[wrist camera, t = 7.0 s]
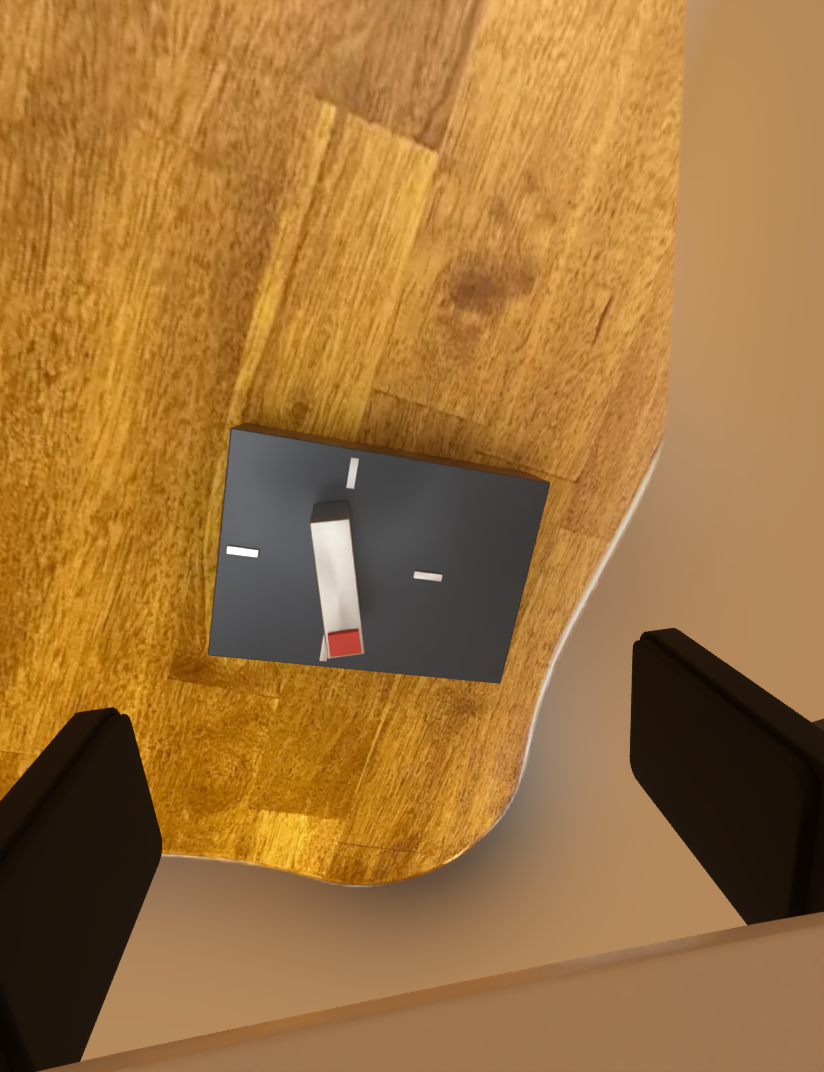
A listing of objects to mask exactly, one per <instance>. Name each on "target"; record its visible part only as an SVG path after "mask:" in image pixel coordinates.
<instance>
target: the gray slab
mask: <svg viewBox="0 0 824 1072" xmlns="http://www.w3.org/2000/svg"><path fill="white" fill-rule="evenodd" d="M310 531H311V539H312V546H313V553H314V561H315V568H316V576H317V583H318V591H319V598H320V606H321V613H322V621H323V628H324V636H325V643H326V651H327V658H328V659H330V658H337V657H345V656H352V655H360V654H365V648H364V639H363V629H362V620H361V611H360V602H359V593H358V584H357V575H356V566H355V557H354V548H353V539H352V530H351V521H350V512H349V503H348V501H342V502H332V503H322V504H314V505H313V510H312V515H311V519H310Z"/></svg>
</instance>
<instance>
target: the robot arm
mask: <svg viewBox="0 0 824 1072" xmlns="http://www.w3.org/2000/svg"><path fill="white" fill-rule="evenodd" d="M630 732H631V733H630V764H631V768H632V772H633V774H634V776H635V778H636V780H637V781H638V782H639V784H640V785H641V786H642V788H643V789H644V790H645V792H646V793H647V794H648V796H649V797H650V798H651V800H652V801H653V802H654V803H655V805H656V806H657V807H658V808H659V810H660V811H661V812H662V814H663V815H664V817H666V819H667V820H668V822H669V823H670V824H671V826H672V827H673V828H674V830H675V831H676V832H677V833H678V835H679V836H680V837H681V839H682V840H683V841H684V842H685V844H686V845H687V847H688V848H689V849H690V850H691V852H692V853H693V854H694V856H695V857H696V858H697V860H698V861H699V862H700V864H701V865H702V866H703V868H704V869H705V870H706V872H707V873H708V874H709V875H710V877H711V878H712V879H713V881H714V882H715V883H716V884H717V886H718V887H719V889H720V890H721V891H722V892H723V894H724V895H725V896H726V898H727V899H728V900H729V902H730V903H731V904H732V905H733V907H734V908H735V909H736V911H737V912H738V913H739V915H740V916H741V917H742V918H743V920H744V921H745V923H746V924H747V926H742V927H737V928H732V929H727V930H722V931H716V932H711V933H706V934H701V935H696V936H692V937H686V938H681V939H676V940H671V941H665V942H660V943H655V944H650V945H645V946H640V947H635V948H630V949H624V950H619V951H614V952H609V953H604V954H599V955H594V956H589V957H584V958H579V959H574V960H569V961H563V962H559V963H554V964H549V965H544V966H539V967H534V968H529V969H524V970H519V971H514V972H509V973H504V974H499V975H494V976H489V977H484V978H479V979H474V980H469V981H464V982H459V983H455V984H450V985H445V986H440V987H435V988H431V989H425V990H420V991H415V992H410V993H405V994H401V995H396V996H391V997H386V998H381V999H376V1000H371V1001H366V1002H361V1003H357V1004H351V1005H347V1006H342V1007H337V1008H332V1009H327V1010H322V1011H317V1012H313V1013H308V1014H303V1015H298V1016H294V1017H289V1018H284V1019H280V1020H275V1021H270V1022H265V1023H260V1024H255V1025H251V1026H246V1027H242V1028H236V1029H232V1030H227V1031H222V1032H217V1033H212V1034H208V1035H203V1036H198V1037H193V1038H189V1039H184V1040H179V1041H174V1042H170V1043H165V1044H161V1045H156V1046H150V1047H146V1048H141V1049H136V1050H132V1051H127V1052H122V1053H117V1054H113V1055H108V1056H104V1057H99V1058H95V1059H91V1060H86V1061H82V1062H80V1061H81V1058H82V1056H83V1053H84V1050H85V1048H86V1045H87V1043H88V1040H89V1038H90V1035H91V1033H92V1030H93V1028H94V1025H95V1023H96V1020H97V1018H98V1015H99V1013H100V1010H101V1008H102V1005H103V1003H104V1000H105V998H106V995H107V993H108V990H109V988H110V985H111V982H112V980H113V978H114V975H115V972H116V970H117V967H118V965H119V962H120V960H121V957H122V955H123V952H124V950H125V947H126V945H127V942H128V940H129V937H130V935H131V932H132V930H133V927H134V925H135V922H136V920H137V917H138V915H139V912H140V909H141V907H142V905H143V902H144V900H145V897H146V894H147V892H148V889H149V887H150V885H151V882H152V879H153V877H154V874H155V872H156V869H157V867H158V864H159V861H160V858H161V853H162V837H161V833H160V829H159V825H158V822H157V818H156V814H155V810H154V806H153V803H152V799H151V795H150V791H149V787H148V784H147V780H146V776H145V772H144V769H143V765H142V761H141V757H140V753H139V750H138V746H137V742H136V738H135V734H134V731H133V727H132V723H131V720H130V718H129V716H128V715H126V714H122V715H120V713H119V712H118V710H117V709H115V708H113V707H112V708H105V709H98V710H91V711H83V712H78V713H76V714H75V715H74V716H73V717H72V718H71V719H70V720H69V721H68V722H67V724H66V725H65V726H64V727H63V728H62V729H61V731H60V732H59V733H58V734H57V735H56V737H55V738H54V739H53V740H52V741H51V742H50V744H49V745H48V746H47V747H46V748H45V749H44V751H43V752H42V753H41V754H40V755H39V757H38V758H37V759H36V760H35V761H34V762H33V764H32V765H31V766H30V767H29V768H28V769H27V771H26V772H25V773H24V774H23V775H22V776H21V778H20V779H19V780H18V781H17V782H16V784H15V785H14V786H13V787H12V788H11V789H10V791H9V792H8V793H7V794H6V795H5V796H4V798H3V799H2V800H1V801H0V1072H824V731H823V730H822V729H820V728H819V727H817V726H816V725H814V724H813V723H812V722H810V721H808V720H807V719H806V718H804V717H803V716H801V715H800V714H799V713H797V712H795V711H794V710H793V709H791V708H790V707H788V706H787V705H786V704H784V703H783V702H781V701H780V700H778V699H777V698H776V697H774V696H773V695H771V694H770V693H768V692H767V691H765V690H764V689H763V688H761V687H760V686H758V685H757V684H755V683H754V682H753V681H751V680H750V679H748V678H747V677H745V676H744V675H743V674H741V673H740V672H738V671H737V670H735V669H734V668H732V667H731V666H730V665H728V664H727V663H725V662H724V661H722V660H721V659H720V658H718V657H717V656H715V655H714V654H712V653H711V652H710V651H708V650H706V649H705V648H704V647H702V646H701V645H699V644H698V643H696V642H695V641H694V640H692V639H691V638H689V637H688V636H686V635H685V634H684V633H682V632H681V631H679V630H678V629H675V628H669V629H662V630H655V631H648V632H644V633H643V634H642V635H641V637H640V640H638V641H636V642H635V643H634V645H633V657H632V693H631V730H630Z"/></svg>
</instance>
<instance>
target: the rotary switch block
mask: <svg viewBox="0 0 824 1072" xmlns="http://www.w3.org/2000/svg"><path fill="white" fill-rule="evenodd" d="M549 486H550V482H548V481H545V480H543V479H541V478H538V477H536V476H533V475H531V474H529V473H526V472H522V471H517V470H511V469H505V468H499V467H494V466H488V465H482V464H476V463H471V462H465V461H459V460H454V459H448V458H442V457H436V456H431V455H425V454H419V453H413V452H408V451H402V450H396V449H391V448H385V447H379V446H373V445H368V444H362V443H356V442H351V441H345V440H339V439H333V438H328V437H322V436H316V435H310V434H305V433H299V432H293V431H288V430H282V429H276V428H270V427H265V426H259V425H253V424H247V423H244V424H241V425H238V426H235V427H232V428H231V430H230V440H229V450H228V460H227V470H226V480H225V490H224V500H223V510H222V520H221V530H220V540H219V550H218V560H217V570H216V580H215V590H214V600H213V609H212V619H211V629H210V639H209V649H208V655H211V656H222V657H232V658H242V659H252V660H263V661H273V662H283V663H293V664H304V665H314V666H324V667H335V668H345V669H355V670H365V671H376V672H386V673H396V674H406V675H417V676H427V677H437V678H448V679H458V680H468V681H478V682H489V683H501V679H502V675H503V671H504V667H505V663H506V659H507V655H508V651H509V647H510V643H511V639H512V635H513V630H514V626H515V622H516V618H517V614H518V610H519V606H520V602H521V598H522V594H523V590H524V586H525V582H526V578H527V574H528V570H529V566H530V562H531V558H532V554H533V550H534V546H535V542H536V538H537V534H538V530H539V526H540V522H541V518H542V514H543V510H544V506H545V502H546V498H547V494H548V490H549ZM342 501H348V503H349V512H350V521H351V530H352V539H353V548H354V557H355V566H356V575H357V584H358V593H359V602H360V611H361V620H362V629H363V639H364V648H365V654H360V655H352V656H345V657H337V658H330V659H328V658H327V651H326V643H325V636H324V628H323V621H322V613H321V606H320V598H319V591H318V583H317V576H316V568H315V561H314V553H313V546H312V539H311V531H310V519H311V515H312V510H313V505H314V504H322V503H332V502H342Z"/></svg>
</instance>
